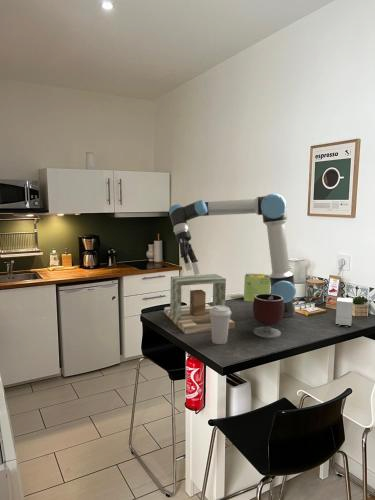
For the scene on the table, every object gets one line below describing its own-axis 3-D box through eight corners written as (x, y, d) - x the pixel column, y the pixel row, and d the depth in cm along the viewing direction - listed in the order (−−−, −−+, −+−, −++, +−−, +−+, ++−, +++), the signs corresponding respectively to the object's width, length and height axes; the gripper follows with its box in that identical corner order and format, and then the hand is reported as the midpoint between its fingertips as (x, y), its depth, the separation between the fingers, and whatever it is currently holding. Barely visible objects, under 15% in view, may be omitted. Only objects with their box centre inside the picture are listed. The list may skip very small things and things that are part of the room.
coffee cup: (207, 337, 173) (207, 305, 171) (228, 337, 173) (229, 304, 171) (210, 345, 163) (210, 311, 161) (232, 345, 164) (233, 311, 162)
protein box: (269, 303, 232) (270, 277, 229) (243, 301, 235) (244, 276, 233) (269, 298, 242) (270, 274, 240) (244, 296, 245) (245, 272, 243)
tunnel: (234, 328, 185) (235, 283, 182) (185, 333, 177) (186, 286, 174) (207, 308, 217) (207, 270, 214) (164, 312, 209) (164, 272, 206)
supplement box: (351, 323, 196) (353, 298, 195) (351, 327, 190) (352, 302, 188) (336, 320, 199) (337, 296, 198) (335, 325, 193) (336, 300, 191)
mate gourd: (250, 327, 187) (251, 287, 184) (279, 328, 187) (281, 287, 184) (254, 339, 172) (256, 295, 169) (286, 340, 171) (288, 296, 168)
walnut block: (205, 315, 195) (205, 292, 193) (194, 316, 193) (194, 293, 191) (200, 312, 200) (201, 289, 199) (189, 313, 198) (190, 290, 197)
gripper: (183, 241, 211) (193, 278, 205) (167, 229, 188) (178, 270, 181) (196, 237, 209) (206, 273, 203) (181, 224, 186) (193, 265, 180)
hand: (193, 272), depth 192 cm, fingers open, 13 cm apart
